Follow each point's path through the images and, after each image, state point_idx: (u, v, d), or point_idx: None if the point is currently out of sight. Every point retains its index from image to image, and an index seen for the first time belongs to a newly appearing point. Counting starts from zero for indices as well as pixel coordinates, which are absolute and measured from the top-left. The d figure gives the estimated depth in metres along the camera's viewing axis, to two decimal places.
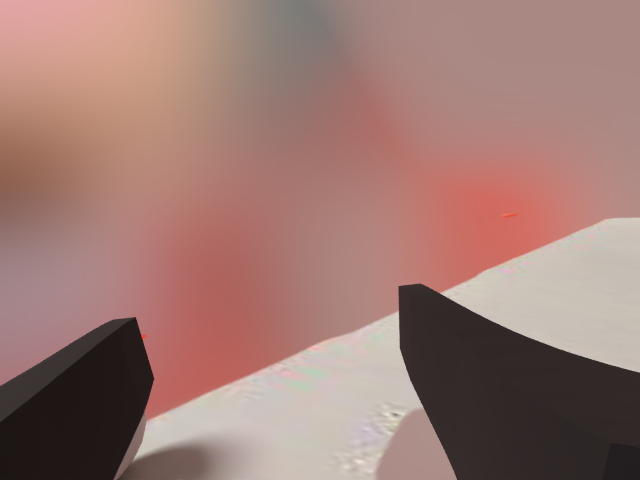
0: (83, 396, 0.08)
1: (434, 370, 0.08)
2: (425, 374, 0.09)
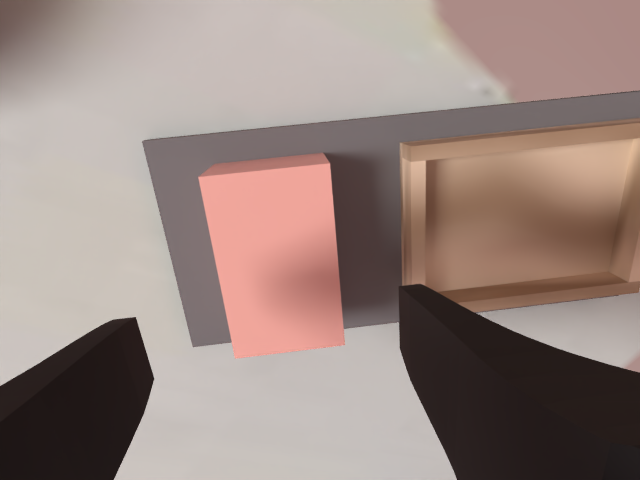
0: (83, 396, 0.08)
1: (434, 370, 0.08)
2: (425, 374, 0.09)
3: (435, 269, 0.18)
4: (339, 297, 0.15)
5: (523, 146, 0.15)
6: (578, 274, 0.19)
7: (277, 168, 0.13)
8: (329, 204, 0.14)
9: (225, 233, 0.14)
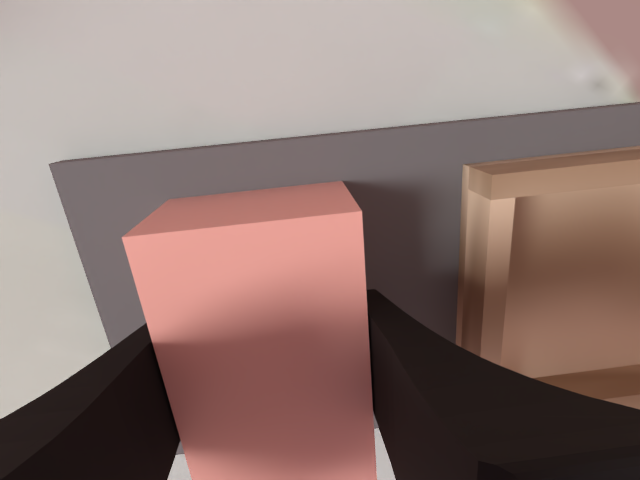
0: (144, 388, 0.08)
1: (378, 377, 0.08)
2: (373, 381, 0.09)
3: (507, 351, 0.12)
4: (371, 422, 0.09)
5: None
6: None
7: (267, 220, 0.07)
8: (359, 280, 0.08)
9: (177, 331, 0.08)
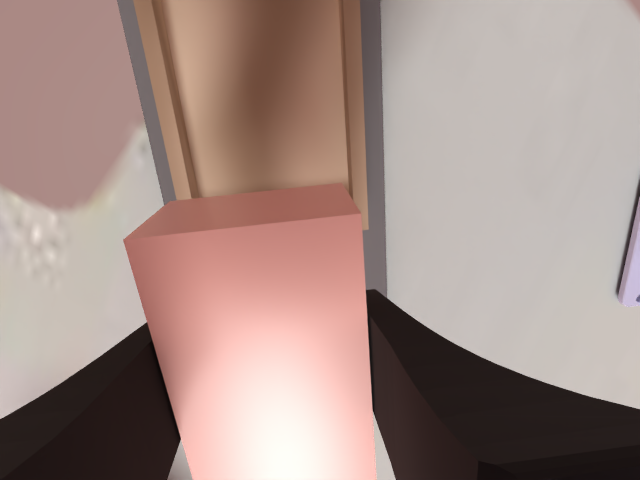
0: (144, 388, 0.08)
1: (378, 377, 0.08)
2: (373, 381, 0.09)
3: None
4: (370, 422, 0.09)
5: (175, 136, 0.15)
6: (338, 7, 0.15)
7: (267, 222, 0.07)
8: (358, 282, 0.08)
9: (178, 332, 0.08)
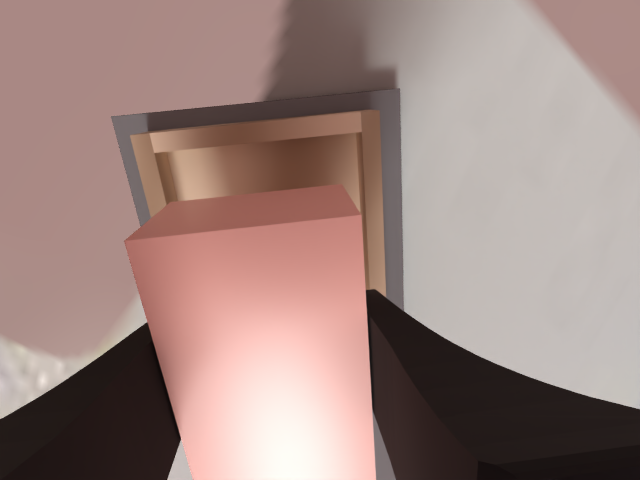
0: (145, 388, 0.08)
1: (378, 377, 0.08)
2: (373, 381, 0.09)
3: None
4: (370, 423, 0.09)
5: None
6: (357, 172, 0.14)
7: (267, 223, 0.07)
8: (358, 283, 0.08)
9: (178, 333, 0.08)
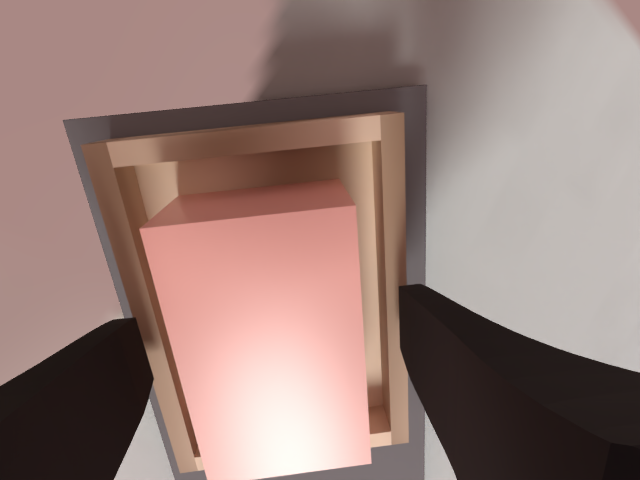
0: (83, 396, 0.08)
1: (434, 370, 0.08)
2: (425, 374, 0.09)
3: None
4: (365, 400, 0.10)
5: (162, 359, 0.11)
6: (372, 189, 0.11)
7: (270, 213, 0.08)
8: (353, 268, 0.09)
9: (188, 314, 0.09)
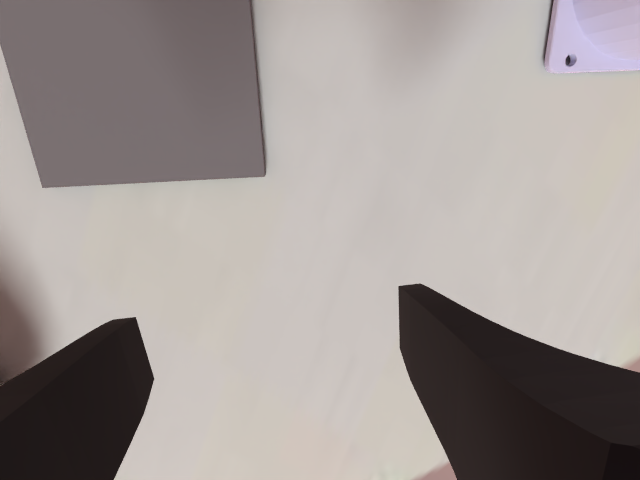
0: (83, 396, 0.08)
1: (434, 370, 0.08)
2: (425, 374, 0.09)
3: None
4: None
5: None
6: None
7: None
8: None
9: None
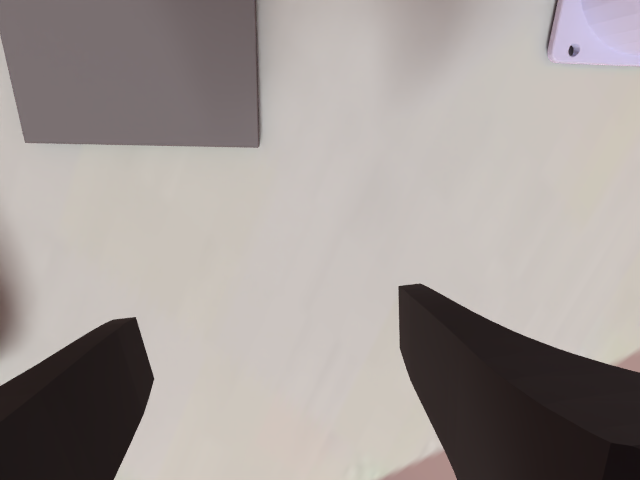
0: (83, 396, 0.08)
1: (434, 370, 0.08)
2: (425, 374, 0.09)
3: None
4: None
5: None
6: None
7: None
8: None
9: None
